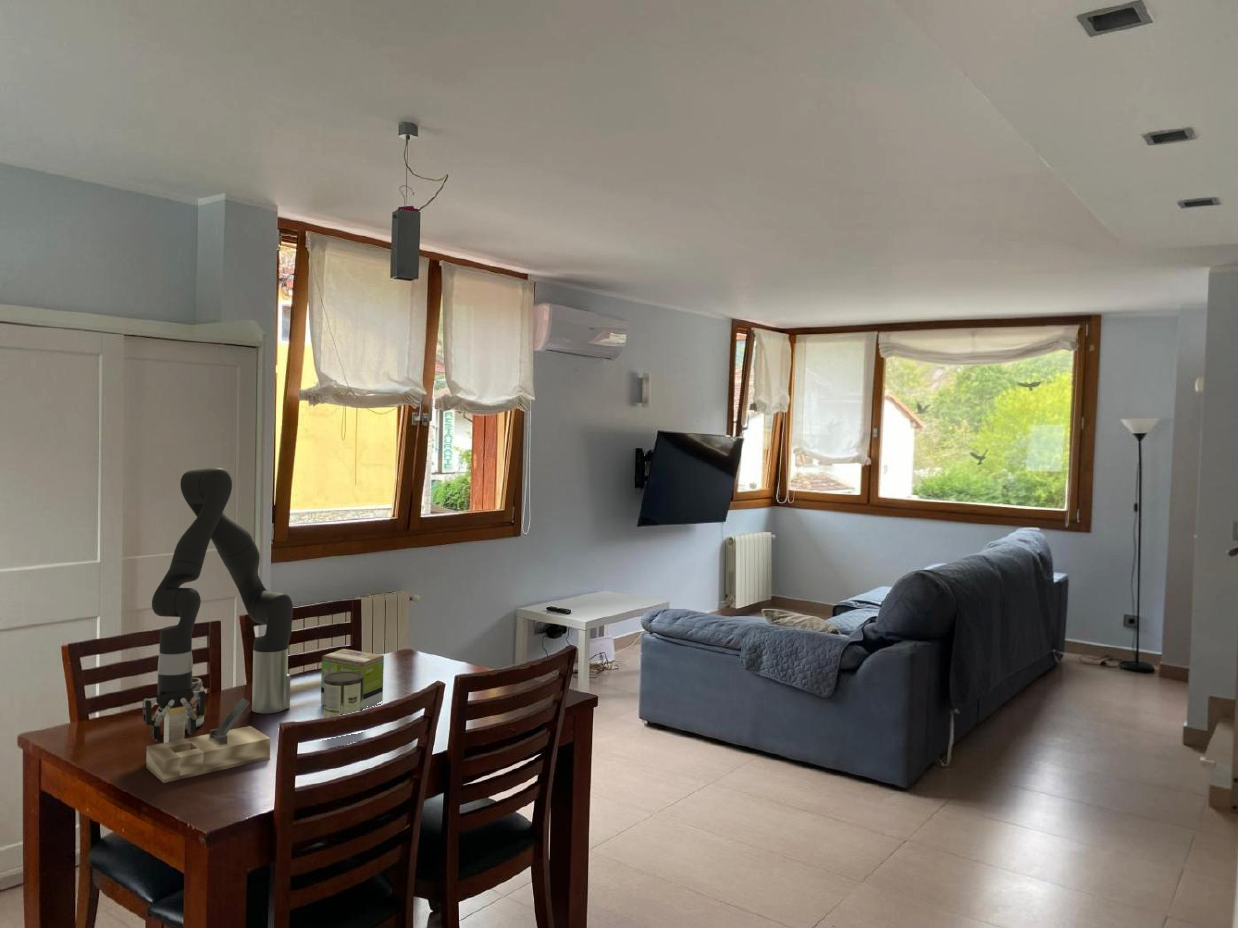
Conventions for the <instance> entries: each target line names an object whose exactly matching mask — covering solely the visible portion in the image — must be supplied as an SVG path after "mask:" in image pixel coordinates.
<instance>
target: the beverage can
mask: <svg viewBox="0 0 1238 928" xmlns="http://www.w3.org/2000/svg"><path fill="white" fill-rule="evenodd" d="M203 685H204V681H202V679H201V678H199V677H192V691H193V692H194V691H198V690H199V689H201V690H203V691H204V692H205V688H204V686H203ZM196 704H197V700H196V699H195V697H194V696H193V698H192V699H191V701H190V702H189V705H190V706H191V708H192V709H193V711H196ZM188 718H189V716H188V715H187V713H186V712H185V731H186V730H188ZM204 721H205V714H204V715H202V716H199V717H197V719H196V729H197V728H198V727H201V726H202V724H203V723H204Z"/></svg>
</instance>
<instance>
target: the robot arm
mask: <svg viewBox="0 0 1238 928" xmlns="http://www.w3.org/2000/svg"><path fill="white" fill-rule="evenodd" d="M232 481H233V480H232V477H231V475H230V473H229V472H228V471H227V470H226V469H224V468H222V467H210V468H199V469H198V468H197V469H191V470H188V471H185V473H183V474H182V475H181V479H180V484H179V485H180V492H181V494H182V497H183V498H184V500H185V502H186V503H187V505H188V506H189V508H190V509H191V510H192V512H193V513H194V515H195V516H196V518H195V520H193V522H192V523H191V524H190V526H189V527H188V528H187V530H186V531H185V532H184V533H183V535H182V536H181V537H180V539H178V542H177V543H176V546H175V549H174V552H173V555H172V559H171V562H170V566H169V569H168V571H167V572H166V574H165V575H164V577H163V579H162V580H161V581H160V583H159V585H158V587H156V590H155V592H154V593H153V595H152V599H151V608H152V611H153V613H154V614H155V615H156V616H159V617H167V618H168V617H169V618H171V617H172V618H173V617H174V618H179V622H178V623H177V624H175V625H169V626H166V627H163V628H162V629H160V633H159V649H158V650H159V653H158V660H157V661H158V662H157V693H156V695H155V697H151V698H146V697H144V698H143V699H142V722H143V723H144V724H145V725H147V726H151V738H152V739H153V740H154V741H155V742H160V741H161V725H160V724H161V723H162V721H164V718H165V716H166V715H167V713H168V711H169V709H170V708H173V707H179V706H185V712H186V713H187V715H188V716H189V718H188V729H187V734H188V735H189V736H192V735H194V733H195V732H196V730H197V728H196V719H197V717H199V716H202V715H204V716H205V713H206V712H205V709H206V695H207V694H206V691H205V690H204V691H203V690H201V689H199V690H198V691H194V692H193V691H192V678H193V667H194V663H193V653H192V652H193V651H192V646H193V640H192V638H193V632H194V628H195V624H196V623H195V622H196V620H197V617H198V614H199V612H200V611H199V610H200V607H201V603H202V602H201V601H202V600H201V596H200V593H199V592H198V591H197V589H195V588H193V587H181V586H182V585H184V584H186V583H191V582H195V581H197V580H198V579H199V577H200V576H201V574H202V573H201V572H202V570H203V569H202V568H203V566H204V561H205V558H206V553H207V550H208V546H209V544H210V541H212V543H213V545H214V547H215V550H216V551H217V553H218V555H219V557H220V559H221V560H222V562H223V565H224V566H225V567H226V569H227V570H228V573H229V574H230V576H231V578H232V581H233V582H234V584H235V586H236V589H237V590H238V593H239V594H240V597H241V600H242V602H243V605H244V608H245V610H246V613H247V615H248V616H249V618H250V619H251V621H253V622H254V623H257V624H261V625H266V629H265V634H264V635H261V636H258V637H256V638H255V639H254V640H253V646H252V647H253V648H252V649H253V650H252V655H253V657H252V659H253V660H252V692H251V693H252V695H251V696H252V697H251V698H252V700H251V701H252V702H251V710H252V712H254V713H257V714H274V713H279V712H282V711H285V710H287V709H290V708H291V707H290V706H291V674H289V673H288V669H289V663H288V662H289V642H290V639H291V636H292V629H293V627H292V626H293V615H294V605H293V601H292V598H291V597H290V595H288V594H287V593H283V592H276V591H269V590H268V589H267V588H266V587H265V585H264V583H263V582H262V580H261V578H260V576H259V567H260V559H261V557H260V552H259V548H258V546H257V544H256V542H255V541H254V539H253V537H252V535H251V533H250V532H249V531H248V530H247V529H246V528H245V527H244V526H242V525H241V524H240V523H238V522H237V521H236V520H234V519H233V518H232V517H230V516H229V515H228V514H226V513H225V512H224V511H225V508H226V506H227V504H228V502H229V499H230V497H231V494H232V489H233V482H232ZM193 696H194V697H195V699H196V700H197V704H196V711H193V709H192V708H191V706H190V705H189V702H190V701H191V699H192V698H193ZM155 704H157V705H158V708H157V709H156V711H155V713H154V716H152V714H153V713H152V708H153V707H154V706H155Z"/></svg>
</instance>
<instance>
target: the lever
mask: <svg viewBox="0 0 1238 928" xmlns="http://www.w3.org/2000/svg"><path fill="white" fill-rule="evenodd" d="M250 704H251V702H250V701H249V700H248V699H246V698H244V697H241V699H240V700H239V701H238V703H237V704H236V705H235V706H234V708H233V709H232V710H231V712H230V713H229V715H228V716H227V717H226V718H225V719H224V721H223V722H222V724H220V726H219V728H217V729H218V730H217V731H216V732H214V733H213V734H212V736H213V737H214V738H215V739H217V740H218V741H219V736H224V735H226V734H227V733H228V731H229V730H232V728H233V726H234V725H235V723H236V722H237V721H238V719H239V718H240V717H241V715H242V714H243V713H244V711H245V710H247V709H246V708H248V706H249V705H250Z"/></svg>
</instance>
